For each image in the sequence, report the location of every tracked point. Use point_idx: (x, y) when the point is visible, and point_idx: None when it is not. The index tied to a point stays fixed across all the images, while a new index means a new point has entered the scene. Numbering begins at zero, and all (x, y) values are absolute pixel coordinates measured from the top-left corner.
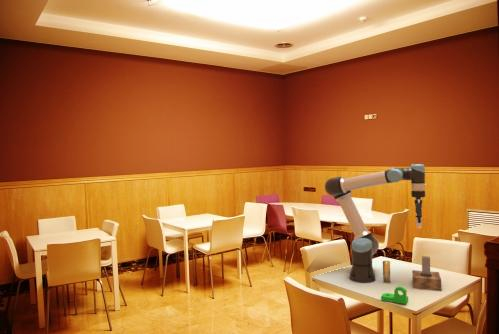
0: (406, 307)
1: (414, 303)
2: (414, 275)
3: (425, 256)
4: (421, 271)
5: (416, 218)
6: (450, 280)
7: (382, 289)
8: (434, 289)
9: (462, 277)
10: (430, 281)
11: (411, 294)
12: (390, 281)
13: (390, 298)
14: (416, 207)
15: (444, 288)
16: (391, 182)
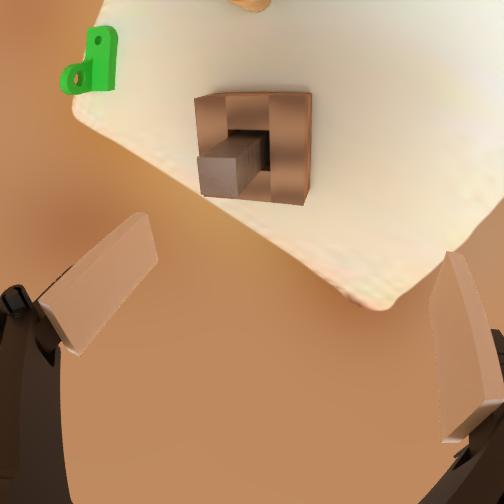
0: None
1: (100, 107)
2: (223, 103)
3: (235, 177)
4: (296, 136)
5: (463, 323)
6: (344, 232)
7: (167, 3)
8: None
9: (383, 276)
10: None
11: (154, 92)
12: (252, 11)
13: (87, 52)
14: (9, 468)
15: None
16: None
